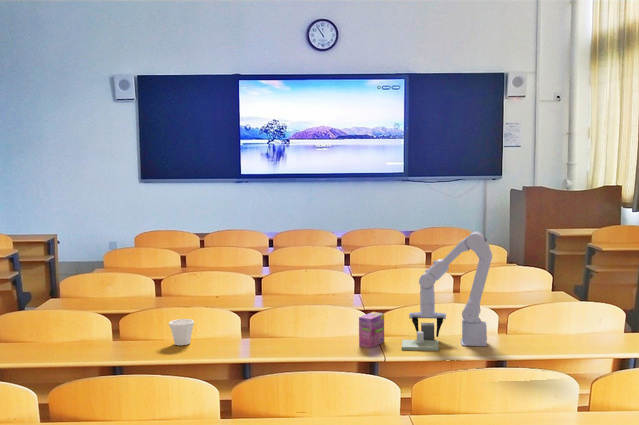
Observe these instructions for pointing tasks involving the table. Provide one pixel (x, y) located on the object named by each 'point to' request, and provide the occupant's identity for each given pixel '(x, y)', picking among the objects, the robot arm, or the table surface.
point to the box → (371, 329)
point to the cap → (428, 330)
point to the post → (420, 338)
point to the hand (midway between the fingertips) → (427, 336)
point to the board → (412, 345)
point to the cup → (181, 331)
